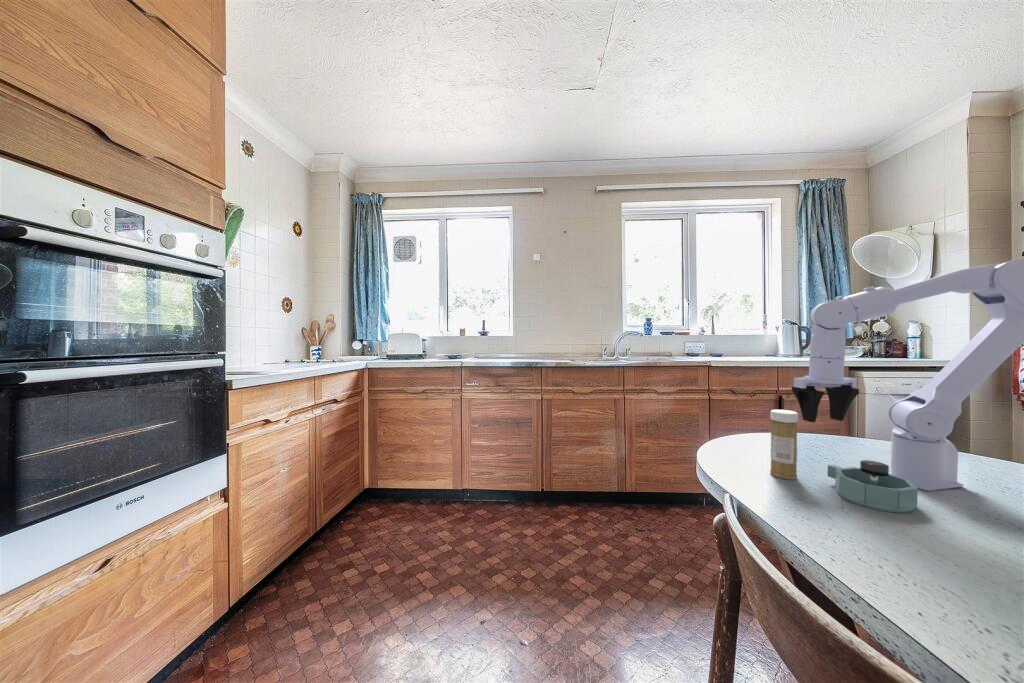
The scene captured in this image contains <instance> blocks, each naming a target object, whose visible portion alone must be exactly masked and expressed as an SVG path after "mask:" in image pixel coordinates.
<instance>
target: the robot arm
mask: <svg viewBox="0 0 1024 683" xmlns="http://www.w3.org/2000/svg"><path fill="white" fill-rule="evenodd" d="M951 292H953V293H957V294H964V295H965V294H971V295H972V296H973V297H974V298H976V299H977V300H978V301H979V302H981V304H983V305H984V306H985V308H986V311H987V312H988V313H989V317H990V318H991V319H990V320H989V321H988V322H987V323H986V324H985V326H983V327H982V328H981V329H980V330H979V331H978V332H977V333H976V334H975V335H974V336H973V337H972V338H971V340H970V341H968V342H967V343H966V344H965V345H964V346H963V347H962V348H961V349H960V351H959V352H957V354H956V355H954V356H953V358H952V359H951V360H950V361H948V362H947V364H946V365H944V367H943V368H942V369H941V370H940V371H939V372H938V373H937V374H935V375H934V377H933V378H932V379H931V380H930V381H929V382H928V383H926V385H924V386H923V387H921V388H918V389H915V390H914V391H911V393H910V394H909V395H908V396H907V397H905V398H903V399H899V400H897V401H895V402H893V403H892V404H891V405H890V406H889V408H888V411H887V414H888V418H889V420H890V422H892V424H894V425H895V426H894V427H893V429H892V430H891V444H890V445H891V447H890V448H891V450H890V471H889V474H892V475H895V476H898V477H901V478H904V479H908V480H910V481H911V482H912V483H913V484H914V485H915V486H916V487H917V488H918V489H921V490H924V491H928V492H930V491H936V490H946V489H954V488H960V487H961V488H962V487H964V485H965V484H964V483H962V482H958V468H959V466H958V465H959V462H958V461H959V452H958V448H956V446H955V445H954V443H953V442H951V441H950V440H949V439H947V437H948V436H950V434H951V433H952V431H953V430H954V424H955V421H956V420H957V418H958V417H960V415H961V414H962V402H964V401H965V399H967V397H969V396H970V394H972V393H973V392H974V391H975V390H976V389H977V388H978V387H979V386H981V384H982V383H984V381H985V380H986V379H987V378H989V377H990V375H992V374H993V372H995V371H996V370H997V369H998V368H999V367H1000V366H1001V365H1002V364H1003V363H1004V362H1005V361H1006V360H1007V359H1008V358H1009V357H1010V356H1011V355H1013V353H1014V352H1016V351H1017V350H1018V349H1019V348H1020V347H1021V346H1022V344H1024V257H1020V258H1016V259H1011V260H1008V261H1006V262H1003V263H1000V262H997V263H991V264H985V265H980V266H974V267H969V268H963V269H959V270H956V271H951V272H948V273H945V274H941V275H938V276H935V277H932V278H927V279H925V280H921V281H919V282H915V283H911V284H908V285H905V286H901V287H898V288H895V289H890V288H887V287H885V286H879V287H875V286H874V285H871V286H868V287H864V288H863V291H861V292H857V293H854V294H850V295H847V296H844V297H843V295H840V296H836V297H835V298H834V299H832V300H828V301H826V302H823V303H820V304H817V305H816V306H814V307H813V308H812V310H811V311H810V315H808V320H809V323H811V325H812V327H811V336H810V347H809V365H808V375H804V376H802V377H794V378H793V385H792V386H791V391H792V393H793V394H794V396H795V398H796V400H797V402H798V404H799V405H798V406H799V408H800V412H801V416H802V420H803V421H805V422H809V423H815V422H816V421H817V417H818V410H819V406H820V402H821V401H822V398H823V396H824V394H825V393H827V397H828V403H829V404H828V405H829V416H830V419H831V420H835V421H839V422H843V421H844V420H845V417H846V414H847V412H848V410H849V407H850V406H851V403H852V402H853V401H854V399H855V398H856V397H857V396H858V395H859V393H860V389H859V388H856V387H857V378H855V377H847V376H846V377H845V374H844V373H845V372H844V371H845V357H846V355H845V354H846V343H847V342H846V339H847V337H846V328H847V325H849V323H851V324H854V323H860V322H864V321H866V320H870V319H875V318H878V317H882V316H885V315H889V314H893V313H894V312H895V311H896V310H897V309H898V306H900V305H902V304H905V303H909V302H914V301H917V300H922V299H926V298H929V297H934V296H935V297H936V296H938V295H939V296H940V295H941V294H942V295H943V294H947V293H951ZM817 388H825V391H826V392H825V391H822V390H817Z"/></svg>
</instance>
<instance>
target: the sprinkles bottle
mask: <svg viewBox="0 0 1024 683" xmlns="http://www.w3.org/2000/svg"><path fill="white" fill-rule="evenodd" d="M769 417H770V423H771V424H770V425H771V426H770V427H771V428H770V470H769V471H770V475H772V476H774V477H777V478H778V479H782V480H789V481H790V480H796V479H797V478H798V475H797V463H798V446H797V445H798V442H797V441H798V437H797V436H798V433H797V432H798V430H797V429H798V428H797V427H798V425H797V424H798V422H799V413H798V412H797V411H794V410H787V409H771V410H770V416H769Z"/></svg>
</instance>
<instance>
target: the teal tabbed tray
mask: <svg viewBox="0 0 1024 683" xmlns="http://www.w3.org/2000/svg"><path fill="white" fill-rule="evenodd" d="M827 477H828V478H832V479H834V481H835V482H834V485H835V492H836V494H837V495H838V496H839V497H841V498H842V499H844V500H846V501H848V502H850V503H854V504H856V505H859V506H862V507H865V508H869V509H873V510H876V511H881V512H882V511H883V512H888V513H895V514H896V513H898V514H907V513H908V514H909V513H913V512H914V511H915V510H916V507H918V492H919V490H918V489H919V488H917V487H916V486H915V485H914V484H913V483H912V482H911V481H910V480H908V479H904V478H901V477H898V476H895V475H892V474H889V475H888V476H878V485H880V486H876V485H870V484H865V483H870V474H867V473H864V472H862V471H861V470H860V467H856V466H850V467H849V466H848V467H842V466H839V465H836V464H828V465H827ZM862 482H865V483H862ZM882 486H884V487H882Z"/></svg>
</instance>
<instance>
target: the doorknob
mask: <svg viewBox="0 0 1024 683" xmlns="http://www.w3.org/2000/svg"><path fill="white" fill-rule="evenodd" d="M859 464H860V466H859V468H860V470H861V471H862V472H864V473H867V474H870V483H865V482H862V483H865V484H870V485H876V486H880V485H878V476H888V475H889V470H890V469H889V468H890V466H889V465H888V464H886V463H883V462H880V461H874V460H866V459H865V460H864V459H863V460H860V463H859ZM882 487H884V486H882Z"/></svg>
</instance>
